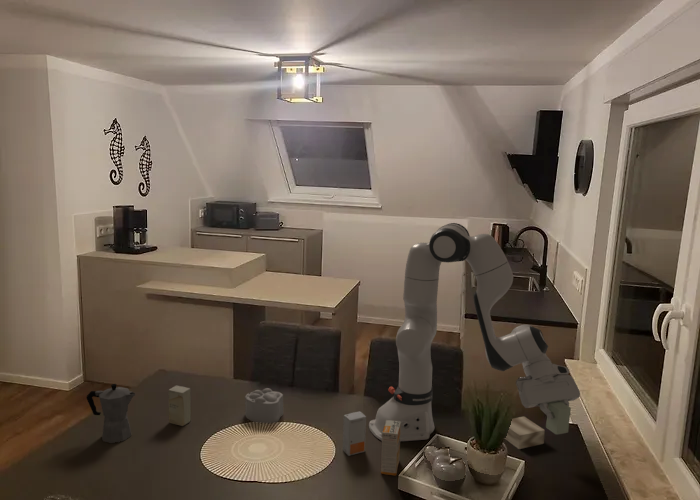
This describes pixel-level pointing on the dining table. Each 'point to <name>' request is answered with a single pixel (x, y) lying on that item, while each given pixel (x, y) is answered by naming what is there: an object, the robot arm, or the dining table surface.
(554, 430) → the sage block
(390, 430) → the supplement box
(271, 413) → the lumpy-topped squat cylinder
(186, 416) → the skincare box
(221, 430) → the dining table surface
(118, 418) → the coffeepot
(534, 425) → the ash block
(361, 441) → the skincare box
